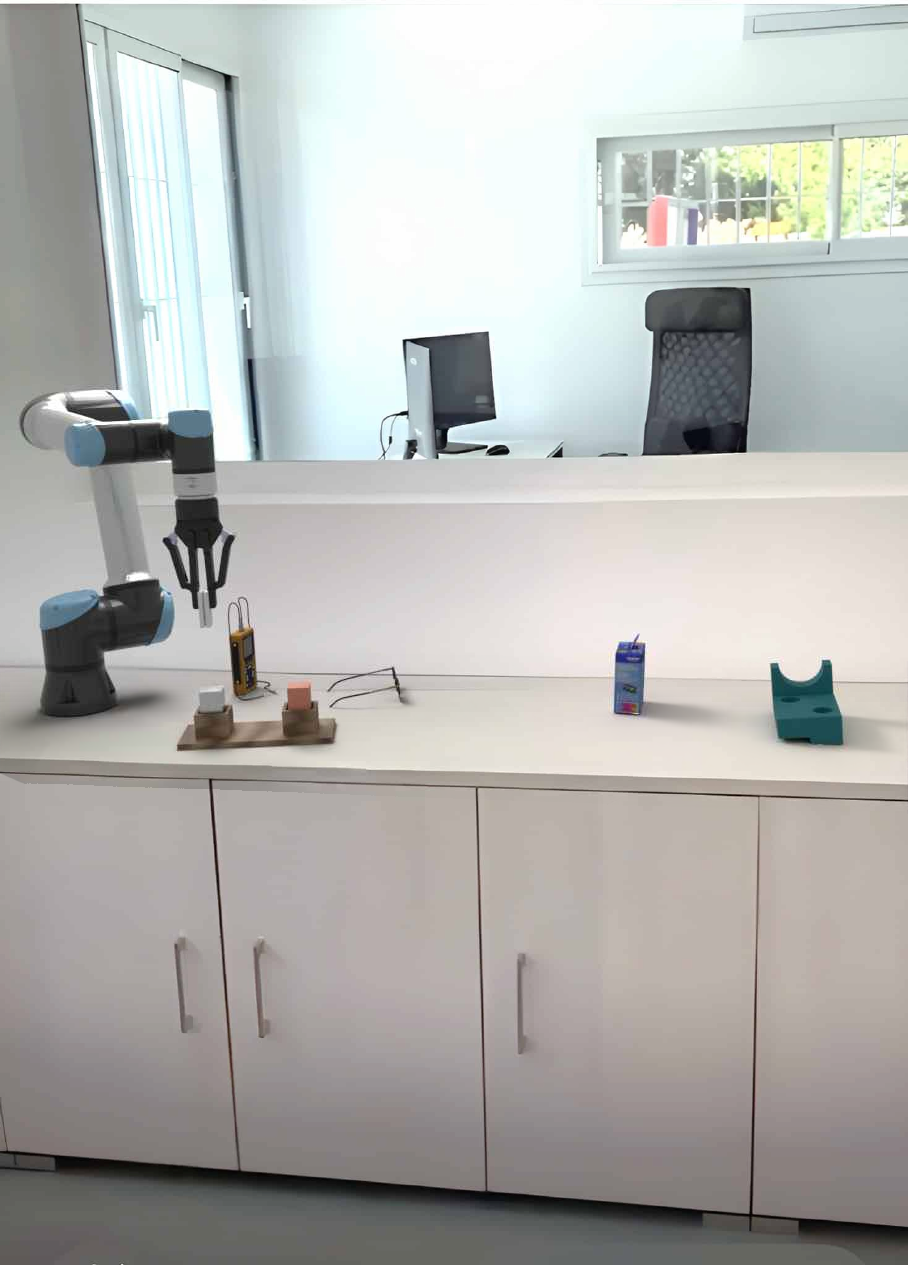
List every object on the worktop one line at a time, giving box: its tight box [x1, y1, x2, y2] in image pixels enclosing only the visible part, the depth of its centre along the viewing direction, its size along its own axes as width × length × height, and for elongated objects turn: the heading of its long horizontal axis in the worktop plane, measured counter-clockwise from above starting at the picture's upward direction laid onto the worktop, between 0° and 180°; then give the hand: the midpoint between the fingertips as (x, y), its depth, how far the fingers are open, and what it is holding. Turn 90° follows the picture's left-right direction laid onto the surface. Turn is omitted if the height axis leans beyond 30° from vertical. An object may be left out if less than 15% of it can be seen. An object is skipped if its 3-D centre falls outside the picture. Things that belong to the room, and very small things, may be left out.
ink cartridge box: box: [613, 633, 646, 714], centre depth 225 cm, size 10×6×14 cm, turn 167°
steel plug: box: [198, 685, 226, 714], centre depth 214 cm, size 4×4×5 cm
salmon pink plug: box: [286, 681, 312, 710], centre depth 215 cm, size 4×4×5 cm
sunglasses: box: [326, 666, 402, 708], centre depth 239 cm, size 14×15×5 cm
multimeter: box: [227, 596, 280, 701], centre depth 244 cm, size 15×10×20 cm
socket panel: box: [176, 699, 336, 751], centre depth 216 cm, size 28×12×6 cm, turn 93°
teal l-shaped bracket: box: [769, 659, 844, 745], centre depth 210 cm, size 18×11×10 cm, turn 168°
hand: (206, 626), depth 211 cm, fingers closed
